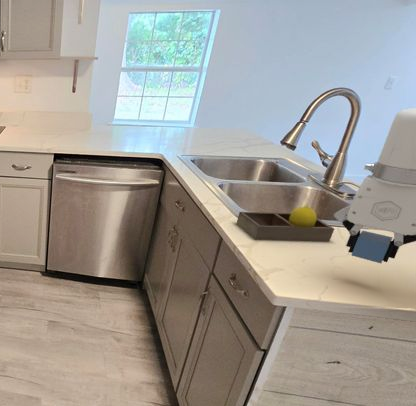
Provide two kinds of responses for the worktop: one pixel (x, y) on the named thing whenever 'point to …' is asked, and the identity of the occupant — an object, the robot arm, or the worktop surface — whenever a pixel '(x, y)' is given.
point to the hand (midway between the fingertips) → (368, 254)
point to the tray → (281, 227)
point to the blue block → (371, 246)
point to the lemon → (303, 217)
